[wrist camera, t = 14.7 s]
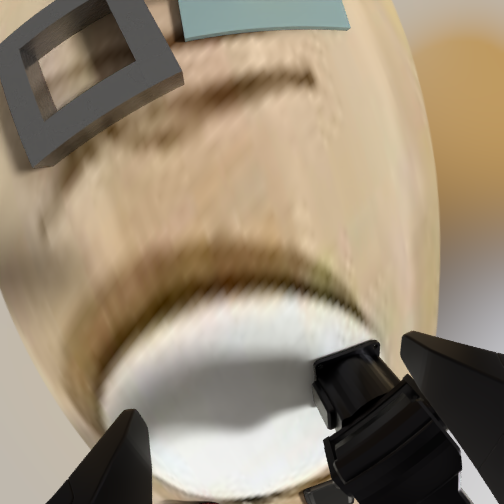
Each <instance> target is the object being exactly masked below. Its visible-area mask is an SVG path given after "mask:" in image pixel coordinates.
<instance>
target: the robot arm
mask: <svg viewBox="0 0 504 504" xmlns="http://www.w3.org/2000/svg"><path fill="white" fill-rule="evenodd" d="M374 345H375V346H374ZM373 346H374V347H373ZM379 354H380V343H379V342H378V341H377V340H373V341H370V342H368V343H365V344H363V345H360V346H357V347H355V348H352V349H349V350H346V351H344V352H341V353H338V354H335V355H332V356H329V357H326V358H323V359H320V360H318V361H316V362H315V363H314V375H315V381H314V382H313V384H312V388H313V397H314V402H315V404H316V406H317V408H318V410H319V412H320V414H321V416H322V418H323V420H324V422H325V424H326V426H327V428H328V429H330V430H332V429H334V428H335V430H336V433H334V434H333V435H331V436H330V437H329V436H328V437H327V438H325V439H324V440H323V442H324V447H325V448H324V449H325V453H326V458H327V462H328V466H329V470H330V474H331V478H332V480H333V484H334V486H335V487H336V488H339V489H341V490H342V491H343V492H344V493H345V494H346V495H347V496H349V497H351V498H355V499H356V500H357V501H358V502H359V504H473V502H472V501H471V500H470V498H469V497H468V496H467V494H466V493H465V492H464V491H463V489H462V488H461V470H462V460H461V451H460V448H459V447H458V445H457V444H456V443H455V442H454V440H453V439H452V438H451V437H450V435H449V434H448V433H447V432H446V431H447V430H448V429H449V430H450V432H451V433H452V434H453V436H454V437H455V439H456V440H457V441H458V443H459V444H460V446H461V447H462V449H463V450H464V451H465V453H466V454H467V456H468V457H469V459H470V460H471V461H472V463H473V464H474V466H475V468H476V469H477V470H478V472H479V474H480V475H481V477H482V478H483V480H484V481H485V483H486V484H487V486H488V487H489V489H490V490H491V492H492V494H493V495H494V497H495V498H496V500H497V501H498V503H499V504H504V354H501V353H496V352H493V351H488V350H485V349H481V348H477V347H473V346H468V345H465V344H461V343H457V342H454V341H450V340H446V339H442V338H439V337H435V336H431V335H427V334H424V333H420V332H416V331H410V332H408V333H406V334H404V335H403V336H402V341H401V351H400V355H401V358H402V360H403V362H404V364H405V365H406V367H407V369H408V370H409V372H410V374H411V376H412V377H413V378H412V377H411V376H410V375H409V374H406V375H405V376H404V377H403V379H402V380H401V381H400V380H399V379H398V377H397V376H396V375H395V374H394V373H393V372H392V371H391V369H390V368H389V367H388V366H387V365H386V364H385V363H384V362H383V360H382V359H381V358H380V357H379ZM319 365H321V366H319ZM46 504H152V464H151V454H150V444H149V433H148V427H147V425H146V423H145V421H144V420H143V418H142V417H141V415H140V414H139V412H138V411H137V410H136V409H127V410H124V411H123V412H122V413H121V414H120V415H119V417H118V418H117V419H116V420H115V421H114V423H113V424H112V425H111V426H110V428H109V429H108V430H107V431H106V432H105V434H104V435H103V436H102V437H101V439H100V440H99V441H98V442H97V444H96V445H95V446H94V447H93V448H92V450H91V451H90V452H89V453H88V455H87V456H86V457H85V458H84V459H83V461H82V462H81V463H80V464H79V466H78V467H77V468H76V470H75V471H74V472H73V473H72V474H71V475H70V477H69V479H68V480H66V481H65V483H64V484H63V485H62V486H61V488H60V489H59V490H58V491H57V492H56V493H55V494H54V495H53V497H52V498H51V499H50V500H49V501H48V502H47V503H46Z"/></svg>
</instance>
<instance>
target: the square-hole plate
mask: <svg viewBox="0 0 504 504" xmlns="http://www.w3.org/2000/svg"><path fill="white" fill-rule="evenodd" d="M110 12H112V13H113V16H114V18H115V20H116V22H117V24H118V26H119V28H120V30H121V32H122V34H123V36H124V38H125V40H126V42H127V44H128V46H129V48H130V50H131V52H132V54H133V56H134V58H135V60H136V61H135V62H133V63H131V64H129V65H128V66H126V67H124V68H122V69H121V70H119V71H117V72H116V73H114V74H112V75H111V76H109V77H107V78H106V79H104V80H102V81H101V82H99V83H98V84H96V85H95V86H93V87H92V88H90V89H89V90H87V91H86V92H84V93H83V94H81V95H80V96H78V97H77V98H75V99H74V100H73V101H71V102H70V103H69V104H67V105H66V106H64V107H63V108H62V109H60V110H59V111H58V112H57V110H56V107H55V105H54V102H53V100H52V97H51V95H50V92H49V90H48V87H47V84H46V82H45V79H44V76H43V74H42V71H41V68H40V65H39V62H38V60H39V59H40V58H41V57H43V56H44V55H45V54H47V53H48V52H49V51H51V50H52V49H53V48H55V47H56V46H58V45H59V44H60V43H62V42H63V41H65V40H66V39H68V38H69V37H71V36H72V35H74V34H75V33H77V32H78V31H80V30H81V29H83V28H84V27H86V26H88V25H89V24H91V23H93V22H94V21H96V20H98V19H99V18H101V17H103V16H105V15H106V14H108V13H110ZM0 79H1V82H2V86H3V89H4V93H5V96H6V99H7V102H8V105H9V108H10V111H11V114H12V117H13V120H14V123H15V126H16V128H17V131H18V134H19V136H20V139H21V142H22V144H23V147H24V149H25V151H26V154H27V156H28V159H29V161H30V163H31V166H32V168H38V167H50V166H54V165H55V164H57V163H58V162H59V161H61V160H62V159H63V158H65V157H66V156H67V155H69V154H70V153H71V152H73V151H74V150H75V149H77V148H78V147H79V146H81V145H82V144H84V143H85V142H87V141H88V140H89V139H91V138H92V137H94V136H95V135H97V134H98V133H100V132H101V131H103V130H104V129H106V128H107V127H109V126H111V125H112V124H114V123H115V122H117V121H119V120H120V119H122V118H123V117H125V116H127V115H128V114H130V113H132V112H133V111H135V110H137V109H139V108H140V107H142V106H144V105H146V104H147V103H149V102H151V101H153V100H155V99H157V98H158V97H160V96H162V95H164V94H166V93H168V92H170V91H172V90H174V89H176V88H178V87H180V86H182V85H184V79H183V73H182V70H181V68H180V66H179V64H178V62H177V60H176V59H175V57H174V55H173V53H172V51H171V49H170V47H169V46H168V44H167V42H166V40H165V38H164V36H163V35H162V33H161V31H160V29H159V27H158V25H157V24H156V22H155V20H154V18H153V16H152V15H151V13H150V11H149V9H148V7H147V6H146V4H145V2H144V0H55V1H54V2H52V3H51V4H49V5H48V6H47V7H45V8H44V9H42V10H41V11H40V12H38V13H37V14H36V15H34V16H33V17H32V18H30V19H29V20H28V21H26V22H25V23H24V24H23V25H21V26H20V27H19V28H18V29H17V30H15V31H14V32H13V33H12V34H11V35H10V36H8V37H7V38H6V39H5V40H4V41H3V42H2V43H1V44H0Z"/></svg>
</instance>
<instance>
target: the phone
mask: <svg viewBox="0 0 504 504" xmlns="http://www.w3.org/2000/svg"><path fill="white" fill-rule="evenodd" d="M303 493H304V497H305V499H306V502H307V503H308V504H353V503H354V498H351V497H349V496H347V495H346V494H345V493H344V492H343V491H342V490H341V489H339V488H336V487H335V486H334V484H333V480H329V481H327V482H324V483H321V484H318V485H315V486H313V487H310V488H307V489H306V490H304V492H303Z"/></svg>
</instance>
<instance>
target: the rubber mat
mask: <svg viewBox="0 0 504 504" xmlns="http://www.w3.org/2000/svg"><path fill="white" fill-rule="evenodd" d="M178 4H179V10H180V15H181V21H182V26H183V32H184V37H185V42H187V41H192V40H197V39H203V38H208V37H215V36H221V35H229V34H237V33H246V32H256V31H270V30H292V29H324V30H346V31H347V30H349V29H350V28H351V27H350V24H349V21H348V18H347V15H346V12H345V9H344V6H343V3H342V0H178Z"/></svg>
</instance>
